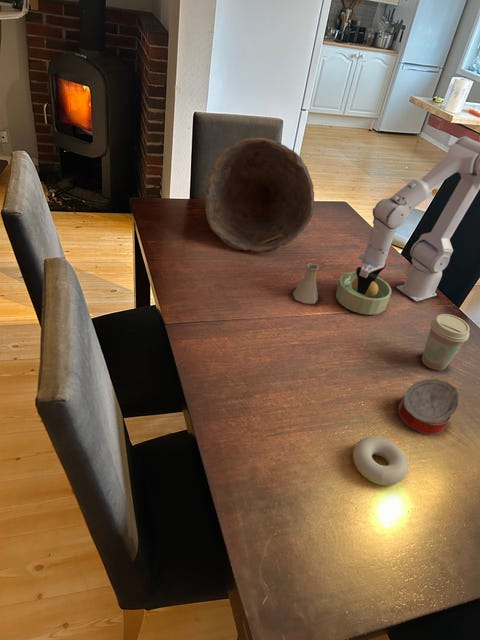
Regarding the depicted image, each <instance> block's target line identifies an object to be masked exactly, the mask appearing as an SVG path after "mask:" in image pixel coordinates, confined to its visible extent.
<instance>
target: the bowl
mask: <svg viewBox="0 0 480 640" xmlns="http://www.w3.org/2000/svg"><path fill="white" fill-rule="evenodd" d="M313 183H314V182H313V181H312V178H311V175H310V173H309V169H308V166H307V165H306V164H305V163H304V160H303V159H302V158H301V156H300V155H299V154H298V153H297V152H295V150H293V149H291V148H289V147H288V146H286V145H285V144H282V142H278V141H276V140H274V139H271V138H266V137H247V138H243V139H241V140H239V141H238V142H236V143H233V144H231V145H229V146H227V147H226V148H225V149H224V150H223V151H221V153H219V154H218V156H216V158H215V161H214V162H213V163H212V164H211V166H210V169H209V176H208V181H207V185H206V195H205V198H204V203H205V204H204V205H205V207H204V208H205V209H204V210H205V215H206V221H207V222H208V224H209V227H210V229H211V231H212V232H213V233H215V234H216V235H217V237H219V238H220V239H221V240H222V241H223V243H224V244H226V245H227V246H229V247H232V248H233V249H235V250H239V251H240V250H241V251H246V252H247V251H251V253H265V252H271V251H275V250H277V249H278V248H280V247H282V246H283V247H284V246H285V245H287V244H290V243H291V242H293V241H294V240H295V239H296V238H297V237H298V236H299V235H300V234H301V233H302V232H303V231H304V230H305V229H306V228H307V226H308V224H309V223H310V221H311V220H312V218H313V214H314V210H315V191H314V184H313Z"/></svg>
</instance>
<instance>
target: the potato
mask: <svg viewBox="0 0 480 640" xmlns="http://www.w3.org/2000/svg"><path fill="white" fill-rule="evenodd" d="M357 286H358V278H355V279H354V280H353V282H352V288H353V290H354V291H355V292H357ZM377 292H378V285H377V284H376V283H375V282H373V281H372V283H371V284H370V286H369V288H368V290H367V292H366V293H365V294H364V295H365V296H367V297H373V296H375V295H376V294H377ZM357 293H358V292H357ZM360 294H361V293H360ZM362 295H363V294H362Z"/></svg>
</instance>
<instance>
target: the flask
mask: <svg viewBox="0 0 480 640" xmlns="http://www.w3.org/2000/svg"><path fill="white" fill-rule="evenodd" d="M319 269H320V267H319V265H318V264H317V263H311V262H308V263H307V264H306V272H305V274H304V276H303V278H302V279H301V281H300V283H299V284H298V285H297V287H296V288H295V289H294V291H293V292H292V295H293V298H294V300H295V301H297V302H300V303H303V304H313V305H314V304H316V303H317V302H318V301H319V294H318V286H317V273H318V272H317V271H318V270H319Z"/></svg>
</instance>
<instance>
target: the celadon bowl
mask: <svg viewBox="0 0 480 640" xmlns="http://www.w3.org/2000/svg"><path fill="white" fill-rule="evenodd" d="M355 278H357V274H356V271H348V272H345V273H343V274H342V275H341V276H340V278H339V281H338V284H337V288H336V291H335V299H336V300H337V301H338V303H339V304H340V305H341V306H342V307H344V308H346V309H348V310H349V311H351V312H353V313H354V312H355V313H357V314H360V315H366V316H367V315H369V316H370V315H371V316H372V315H378V314H381V313H382V312H384V311H386V308H387V306H388V304H389V300H390V297H391V295H392V292H393V290H392V288H391V286H390V285H389V283H388V282H387V281H385V280H384V279H383V278H381V277H379V276H377V278H376V279H375V281H374V282H375V283H376V284H377V285H378V292H377V294H376V295H375V296H373V297H367V296H365V295H362V294H360V293H357V292H355V291H354V290H353V288H352V282H353V280H354V279H355Z"/></svg>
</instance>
